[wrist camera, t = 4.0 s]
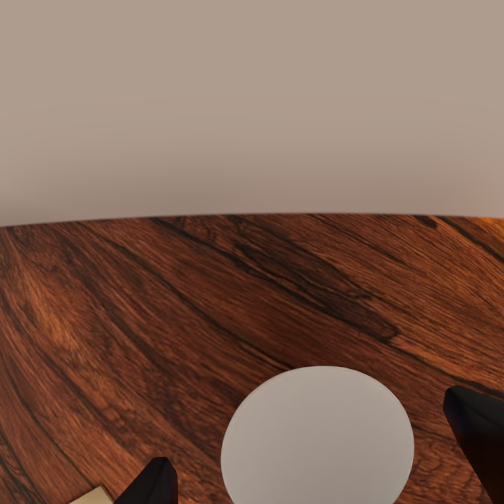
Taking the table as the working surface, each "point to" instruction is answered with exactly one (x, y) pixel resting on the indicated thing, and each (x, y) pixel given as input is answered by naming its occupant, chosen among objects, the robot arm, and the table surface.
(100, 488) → the sticky note
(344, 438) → the pill bottle
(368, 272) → the table surface
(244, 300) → the table surface
